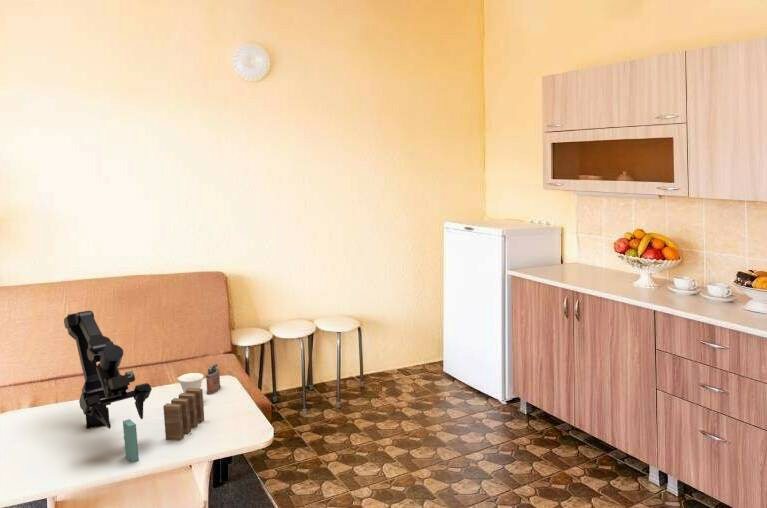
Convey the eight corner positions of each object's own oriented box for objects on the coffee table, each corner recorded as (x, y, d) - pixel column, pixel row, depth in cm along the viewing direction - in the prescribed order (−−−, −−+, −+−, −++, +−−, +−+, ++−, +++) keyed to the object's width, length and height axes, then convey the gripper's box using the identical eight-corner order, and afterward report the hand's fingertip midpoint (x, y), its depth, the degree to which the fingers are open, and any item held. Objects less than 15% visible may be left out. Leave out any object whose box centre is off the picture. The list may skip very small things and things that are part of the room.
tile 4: (180, 440, 188) (178, 406, 187) (165, 439, 189) (163, 405, 188) (183, 437, 190) (181, 404, 188) (169, 436, 191) (166, 403, 189)
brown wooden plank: (194, 428, 197) (192, 396, 195) (180, 427, 198) (178, 395, 196) (197, 425, 199) (195, 393, 197) (183, 424, 200) (181, 392, 198)
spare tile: (131, 462, 174) (128, 426, 173) (125, 456, 178) (122, 421, 176) (138, 460, 176) (135, 424, 174) (132, 454, 179) (129, 419, 178)
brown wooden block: (187, 434, 192) (185, 401, 191) (173, 433, 193) (171, 400, 192) (190, 431, 194) (188, 398, 193) (176, 430, 195) (174, 398, 194)
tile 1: (201, 422, 201) (199, 390, 200) (187, 421, 202) (185, 390, 201) (204, 420, 203) (202, 388, 202) (190, 419, 204) (188, 388, 203)
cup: (178, 400, 222) (176, 373, 220) (205, 396, 224) (203, 370, 223) (178, 409, 213) (176, 381, 212) (205, 405, 216) (203, 378, 214)
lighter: (212, 394, 226) (211, 369, 225) (204, 394, 227) (203, 368, 226) (222, 387, 234) (221, 362, 233) (214, 386, 235) (213, 361, 233)
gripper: (81, 371, 173) (97, 419, 166) (146, 357, 185) (163, 401, 179) (76, 391, 180) (90, 437, 173) (139, 376, 192) (155, 419, 185)
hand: (126, 423), depth 177 cm, fingers open, 9 cm apart
